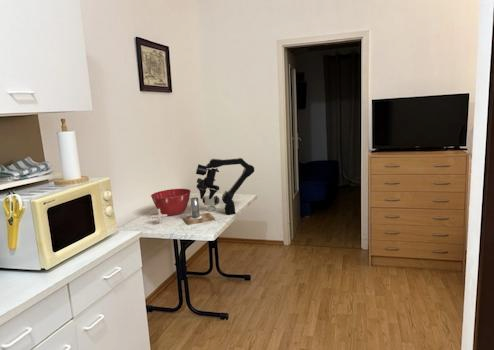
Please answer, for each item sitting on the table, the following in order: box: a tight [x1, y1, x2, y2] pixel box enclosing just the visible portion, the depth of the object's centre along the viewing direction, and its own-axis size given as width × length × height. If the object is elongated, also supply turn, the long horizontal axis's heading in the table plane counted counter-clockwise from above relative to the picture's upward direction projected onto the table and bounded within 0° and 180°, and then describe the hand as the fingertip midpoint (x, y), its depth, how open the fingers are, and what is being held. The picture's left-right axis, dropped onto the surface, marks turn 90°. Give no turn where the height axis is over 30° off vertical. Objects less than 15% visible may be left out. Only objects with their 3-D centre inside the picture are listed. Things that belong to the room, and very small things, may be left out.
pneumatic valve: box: [201, 194, 221, 212], centre depth 274 cm, size 6×12×12 cm, turn 70°
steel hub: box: [189, 196, 201, 218], centre depth 251 cm, size 5×5×13 cm
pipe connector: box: [151, 208, 168, 225], centre depth 250 cm, size 10×10×10 cm
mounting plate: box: [183, 212, 216, 225], centre depth 253 cm, size 18×14×2 cm
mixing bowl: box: [150, 188, 191, 217], centre depth 274 cm, size 28×28×15 cm
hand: (205, 199), depth 258 cm, fingers open, 9 cm apart
